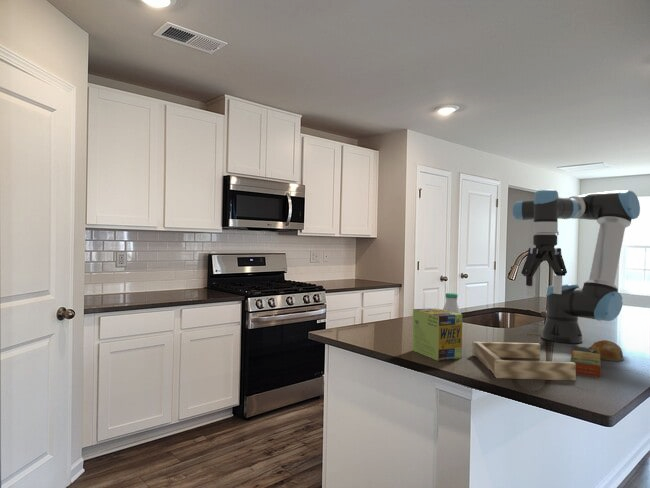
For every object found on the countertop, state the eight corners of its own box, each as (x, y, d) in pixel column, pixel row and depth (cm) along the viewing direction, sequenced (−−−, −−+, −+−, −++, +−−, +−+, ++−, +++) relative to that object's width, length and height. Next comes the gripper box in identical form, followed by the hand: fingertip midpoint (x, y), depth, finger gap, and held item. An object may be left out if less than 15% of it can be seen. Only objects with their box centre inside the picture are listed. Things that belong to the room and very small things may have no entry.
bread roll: (617, 373, 147) (629, 353, 145) (585, 356, 151) (597, 336, 150) (615, 366, 155) (627, 347, 153) (586, 350, 160) (597, 331, 158)
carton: (600, 366, 143) (600, 353, 143) (601, 379, 129) (601, 365, 129) (571, 361, 147) (571, 349, 147) (569, 374, 134) (570, 360, 134)
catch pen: (538, 357, 151) (538, 343, 151) (575, 380, 126) (575, 363, 126) (472, 355, 153) (472, 341, 153) (496, 378, 128) (496, 361, 128)
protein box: (438, 361, 145) (439, 315, 145) (411, 350, 159) (412, 308, 159) (462, 358, 149) (463, 314, 149) (434, 348, 163) (435, 307, 163)
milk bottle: (462, 346, 166) (462, 295, 166) (441, 345, 167) (442, 294, 167) (459, 341, 173) (460, 292, 173) (440, 340, 175) (440, 292, 175)
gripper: (559, 234, 159) (558, 291, 159) (510, 233, 149) (510, 294, 149) (578, 234, 152) (577, 294, 153) (529, 233, 142) (528, 297, 142)
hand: (544, 294), depth 151 cm, fingers open, 13 cm apart
